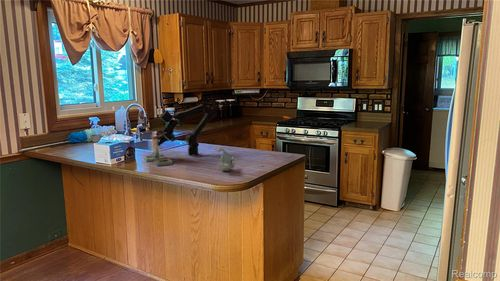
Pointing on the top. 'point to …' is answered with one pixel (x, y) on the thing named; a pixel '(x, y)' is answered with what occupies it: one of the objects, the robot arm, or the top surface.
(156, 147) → the pin
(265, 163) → the top surface
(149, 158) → the tray
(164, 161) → the receiver socket
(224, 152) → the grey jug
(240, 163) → the top surface
